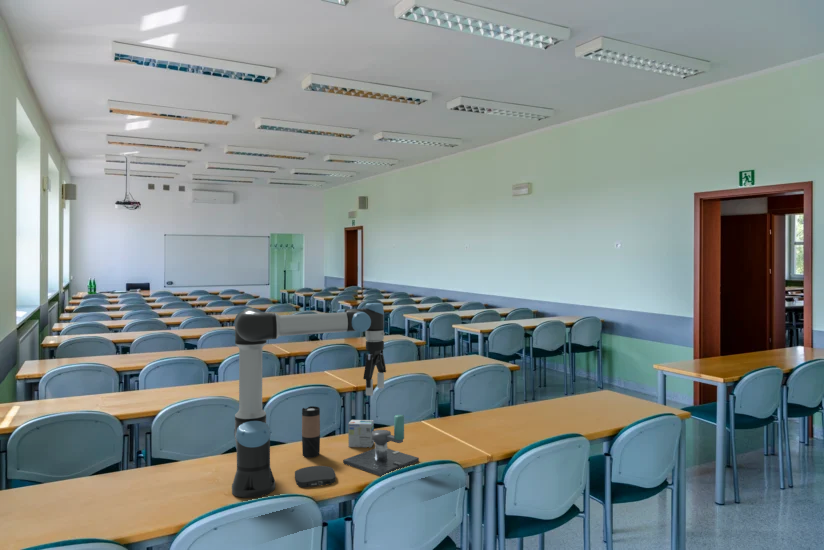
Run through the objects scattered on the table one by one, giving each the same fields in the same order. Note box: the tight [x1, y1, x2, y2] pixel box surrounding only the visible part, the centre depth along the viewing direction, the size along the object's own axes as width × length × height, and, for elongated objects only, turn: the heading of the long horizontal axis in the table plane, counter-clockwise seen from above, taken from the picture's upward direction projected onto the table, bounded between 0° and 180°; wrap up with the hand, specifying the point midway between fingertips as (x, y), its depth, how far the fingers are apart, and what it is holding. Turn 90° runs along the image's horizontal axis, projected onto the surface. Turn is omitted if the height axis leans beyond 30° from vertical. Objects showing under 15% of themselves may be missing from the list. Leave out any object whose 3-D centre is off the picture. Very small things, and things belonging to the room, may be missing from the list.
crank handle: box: [371, 414, 405, 444], centre depth 227 cm, size 8×16×12 cm, turn 49°
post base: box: [342, 442, 420, 477], centre depth 230 cm, size 22×22×9 cm
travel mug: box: [301, 405, 321, 459], centre depth 239 cm, size 8×8×20 cm
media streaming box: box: [294, 465, 337, 488], centre depth 213 cm, size 15×15×3 cm
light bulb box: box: [347, 419, 375, 449], centre depth 252 cm, size 11×7×11 cm, turn 84°
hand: (375, 391), depth 232 cm, fingers open, 13 cm apart
